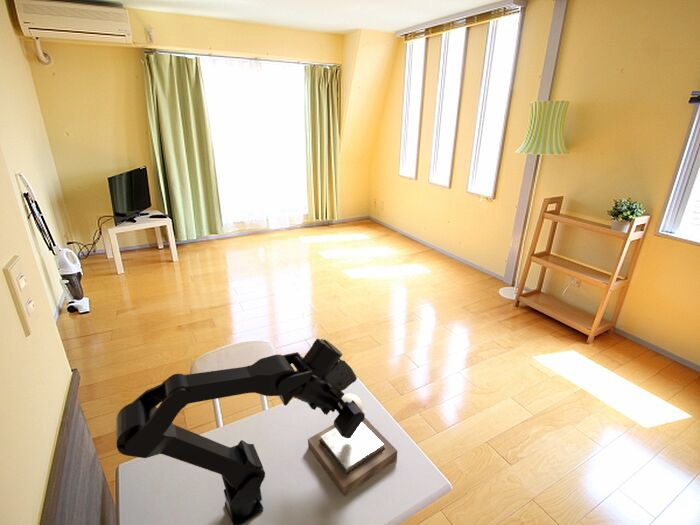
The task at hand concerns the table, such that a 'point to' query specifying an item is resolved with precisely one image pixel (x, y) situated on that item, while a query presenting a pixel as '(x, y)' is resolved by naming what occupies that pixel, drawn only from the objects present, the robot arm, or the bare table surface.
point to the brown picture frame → (361, 473)
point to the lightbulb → (353, 397)
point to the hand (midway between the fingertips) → (354, 409)
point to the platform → (352, 447)
